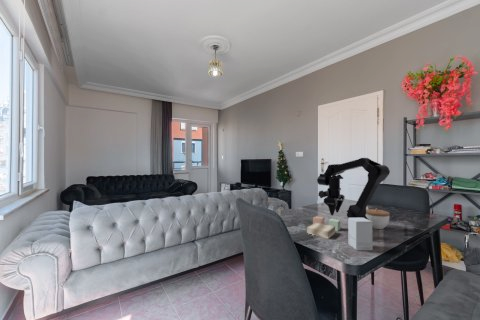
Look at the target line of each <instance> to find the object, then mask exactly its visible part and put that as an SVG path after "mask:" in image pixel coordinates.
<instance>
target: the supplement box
mask: <svg viewBox="0 0 480 320" xmlns="http://www.w3.org/2000/svg"><path fill="white" fill-rule="evenodd" d="M347 221H348V222H347V223H348V225H347V226H348V229H347V230H348V231H347V232H348V235H347V236H348V242H347V243H348V245H349V246H350V247H351V248H352V249H354V250H356V251H373V228H372V221H370V220H368V219H365V218H348V217H347Z"/></svg>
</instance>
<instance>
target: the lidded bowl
mask: <svg viewBox="0 0 480 320" xmlns="http://www.w3.org/2000/svg"><path fill="white" fill-rule="evenodd" d="M366 217H367V218H368V219H369V220H370V221H372V229H376V230H384V228H386V227H387V226H388V225H389V223H390V212H389V211H386V210H382V209H378V208H377V207H376V208H375V209H373V208H369V209H367V208H366Z"/></svg>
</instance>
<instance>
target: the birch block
mask: <svg viewBox="0 0 480 320" xmlns="http://www.w3.org/2000/svg"><path fill="white" fill-rule="evenodd" d="M307 233H308V234H307ZM306 234H307V235H309V234H312V235H311V236H313V235H316V236H315V237H318V236H319V237H318V238H322V237H323V238H322V239H326V238H327V239H330V238H332V237H333V236H334V235H335V234H336V230H335V226H330V225H329V224H325V223H324V224H319V223H314V224H313V223H312V224H310V225H308V226H307V227H306Z"/></svg>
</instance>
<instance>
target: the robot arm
mask: <svg viewBox="0 0 480 320" xmlns="http://www.w3.org/2000/svg"><path fill="white" fill-rule="evenodd" d="M361 167H362V168H363V169H364V171H366V172H367V181H366V184H365V186H364V187H363V190H362V192H361V193H360V196H359V197H358V199H357V201H356V203H355V204H350V205H349V206H348V209H347V210H346V212H347V213H346V216H347V219H348V218H365V219H368V218H367V217H366V210H367V207H368V205H369V203H370V201H371V200H372V199H373V195H374V194H375V192H376V190H377V189H378V186H380V184H381V183H382V182H384V181H385V180H386V179H387V178H388V177H389V175H390V173H391V170H390V168H389V167H388V166H387V165H385V164H383V165H382V164H381V163H378V162H376V161H374V160H372V159H370V158H368V157H360V158H358V159H355V160H351V161H347V162H344V163H339V164H338V163H337V164H328V166H327V168H326V170H325V172H324V173H319V176H318V178H317V179H316V181H317V184H318V185H320V186H326V187H327V186H328V188H327V189H326V190H325V191H324V190H320V191H319V190H318V197H319V198H320V199H323V198H324V199H323V203H324V205H327V207H328V210H329V212H330V216H332V217H333V216H334V215H335V213H339V211H340V209H341V207H342V205H343V203H344V200H346V199H345V198H346V197H345V195H344V194H341V191H342V188H341V180H343V179H344V177H343V176H342V175H341V174H343V173H345V172H346V171H349V170H353V169H358V168H361ZM368 220H369V219H368Z"/></svg>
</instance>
